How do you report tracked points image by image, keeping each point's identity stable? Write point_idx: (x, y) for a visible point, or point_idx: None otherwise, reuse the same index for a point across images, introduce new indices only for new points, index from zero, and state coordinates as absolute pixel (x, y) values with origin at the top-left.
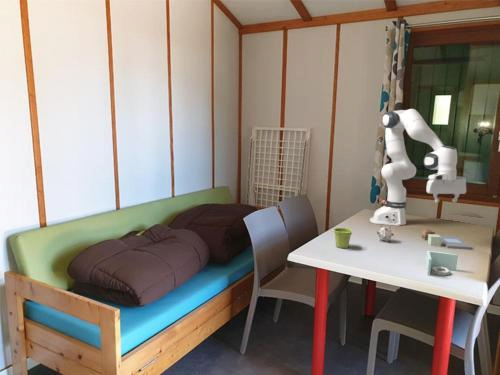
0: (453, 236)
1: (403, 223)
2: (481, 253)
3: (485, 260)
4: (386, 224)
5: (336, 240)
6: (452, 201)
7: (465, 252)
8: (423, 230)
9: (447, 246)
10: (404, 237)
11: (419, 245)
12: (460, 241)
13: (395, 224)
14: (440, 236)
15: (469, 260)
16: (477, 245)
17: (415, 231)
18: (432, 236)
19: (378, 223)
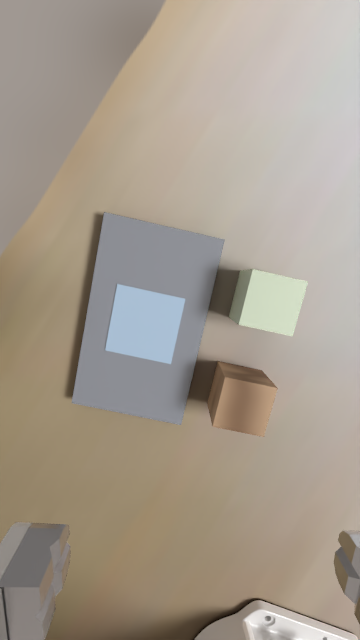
0: (92, 402)
1: (221, 627)
2: (97, 152)
3: (147, 36)
4: (308, 619)
5: None
6: (67, 564)
7: (171, 169)
8: (265, 422)
9: (223, 241)
10: (338, 414)
11: (340, 285)
12: (108, 314)
13: (273, 610)
14: (249, 285)
15: (231, 37)
16: (37, 284)
17: (222, 512)
18: (298, 285)
19: (343, 632)
